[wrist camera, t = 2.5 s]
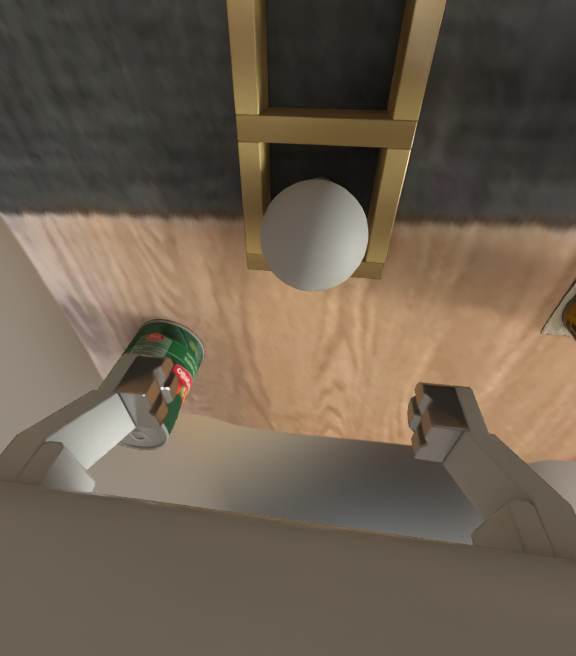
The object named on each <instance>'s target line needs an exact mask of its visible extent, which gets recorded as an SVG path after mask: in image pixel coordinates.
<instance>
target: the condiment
mask: <svg viewBox="0 0 576 656" xmlns="http://www.w3.org/2000/svg"><path fill="white" fill-rule="evenodd" d="M541 334H547V335H569V336H573V338H574V339H575V340H576V282H575V284H574V286H573V287H572V288H571V290H570V291H569V292H568V294H567V295H566V296H565V298H564V299H563V300H562V302H561V303H560V305H559V306H558V308H557V309H556V311H555V312H554V314H553V315H552V316H551V318H550V319H549V321H548V323H547V324H546V325H545V327H544V329H543V330H542V333H541Z"/></svg>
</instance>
